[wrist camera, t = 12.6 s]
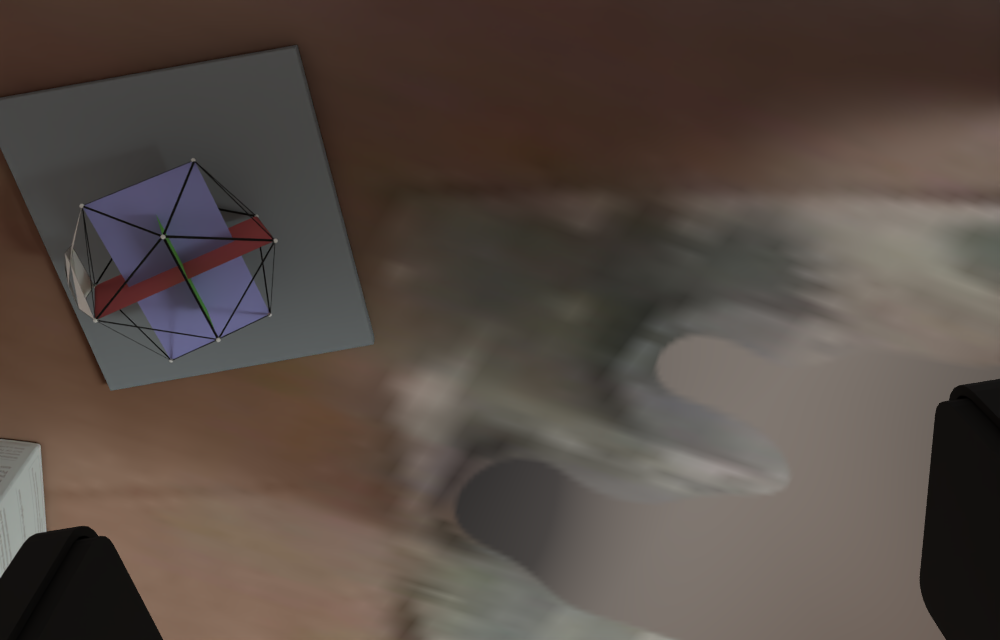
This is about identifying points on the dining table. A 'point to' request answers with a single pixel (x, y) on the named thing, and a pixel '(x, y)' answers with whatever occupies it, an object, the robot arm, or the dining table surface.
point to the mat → (233, 163)
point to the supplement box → (19, 497)
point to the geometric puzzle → (174, 261)
